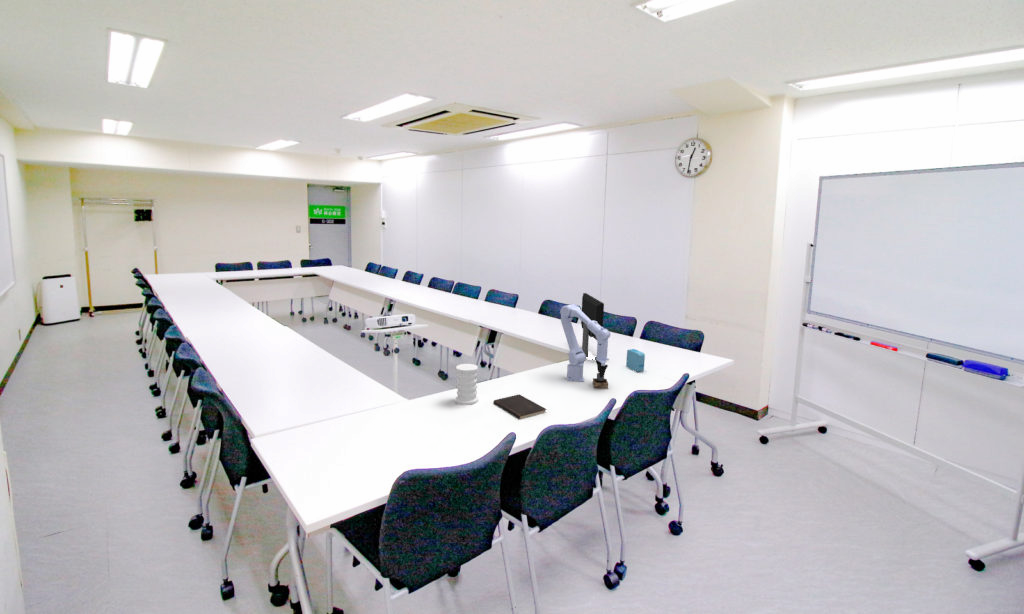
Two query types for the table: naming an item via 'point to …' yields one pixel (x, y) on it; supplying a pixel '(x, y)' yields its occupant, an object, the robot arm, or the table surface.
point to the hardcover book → (519, 406)
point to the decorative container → (466, 384)
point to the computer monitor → (591, 318)
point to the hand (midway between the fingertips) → (600, 374)
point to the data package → (635, 360)
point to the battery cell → (600, 379)
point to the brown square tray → (600, 385)
